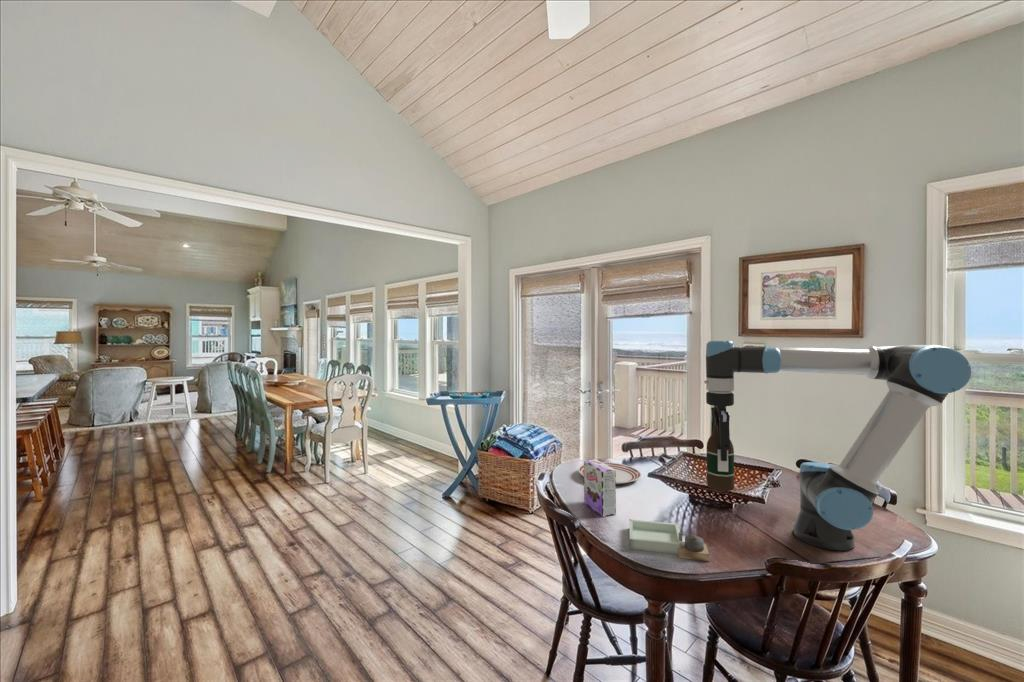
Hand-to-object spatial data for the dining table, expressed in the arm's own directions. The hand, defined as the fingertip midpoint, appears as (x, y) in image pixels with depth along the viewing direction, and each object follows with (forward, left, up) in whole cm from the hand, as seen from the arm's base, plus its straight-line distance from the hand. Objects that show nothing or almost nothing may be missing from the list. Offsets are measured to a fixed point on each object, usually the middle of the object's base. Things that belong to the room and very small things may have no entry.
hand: (720, 466), depth 130 cm
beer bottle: (0, 0, -6) cm, 6 cm away
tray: (+19, +3, -23) cm, 30 cm away
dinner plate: (+35, -54, -24) cm, 69 cm away
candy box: (+37, -18, -24) cm, 48 cm away
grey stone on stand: (+9, +9, -23) cm, 27 cm away
